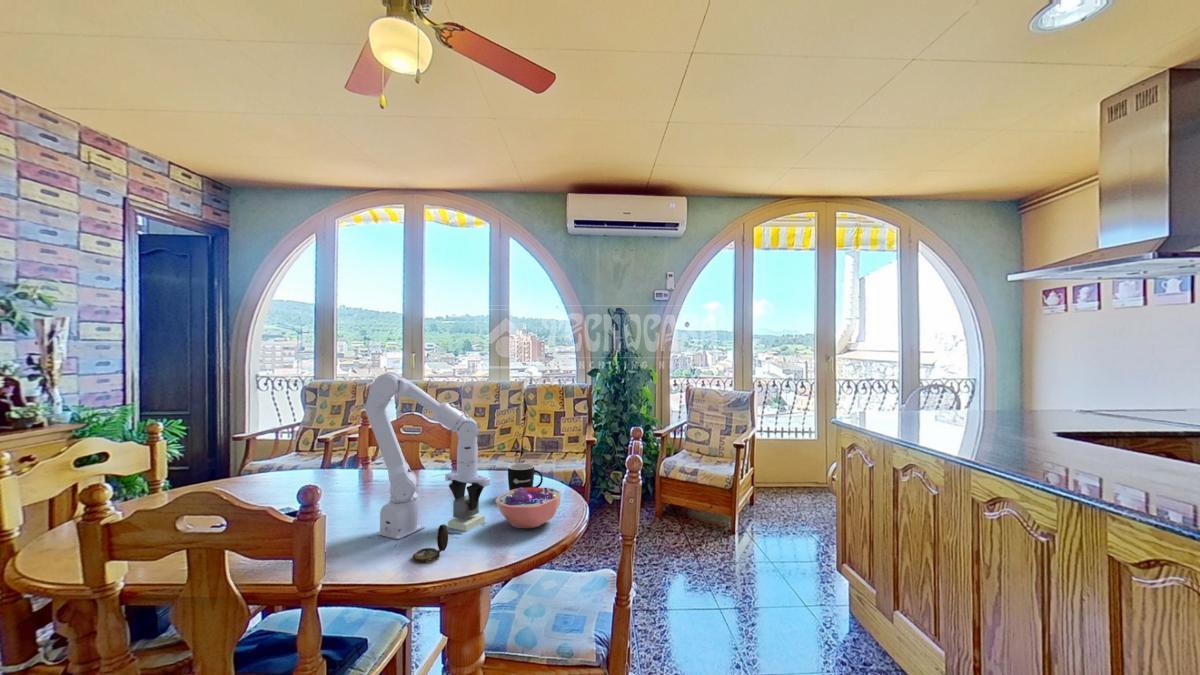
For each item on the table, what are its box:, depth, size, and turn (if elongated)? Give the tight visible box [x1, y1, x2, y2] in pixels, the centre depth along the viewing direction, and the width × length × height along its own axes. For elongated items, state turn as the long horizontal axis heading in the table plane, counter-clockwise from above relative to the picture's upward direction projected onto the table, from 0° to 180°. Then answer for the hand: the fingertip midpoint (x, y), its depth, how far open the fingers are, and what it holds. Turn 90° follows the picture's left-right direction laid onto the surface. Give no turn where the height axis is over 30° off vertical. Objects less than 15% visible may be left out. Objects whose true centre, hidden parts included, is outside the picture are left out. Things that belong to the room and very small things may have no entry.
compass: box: [412, 523, 449, 564], centre depth 118 cm, size 8×8×7 cm
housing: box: [452, 494, 480, 519], centre depth 139 cm, size 6×4×5 cm
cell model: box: [495, 487, 562, 529], centre depth 140 cm, size 17×20×11 cm
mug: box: [507, 462, 544, 492], centre depth 167 cm, size 12×9×10 cm
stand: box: [447, 513, 486, 532], centre depth 140 cm, size 8×6×2 cm
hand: (466, 508), depth 140 cm, fingers closed on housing, 4 cm apart
